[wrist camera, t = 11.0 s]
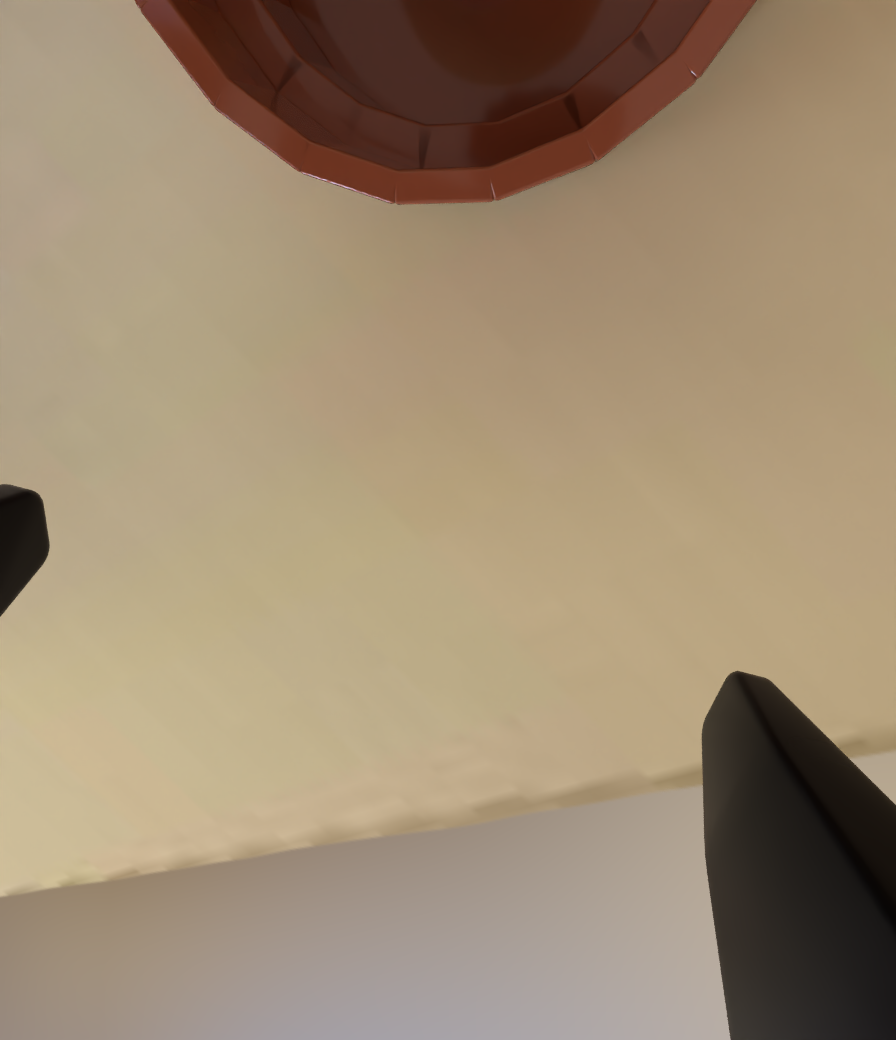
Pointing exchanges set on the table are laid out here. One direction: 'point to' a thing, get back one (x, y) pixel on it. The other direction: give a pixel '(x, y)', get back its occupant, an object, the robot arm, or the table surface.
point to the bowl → (442, 83)
